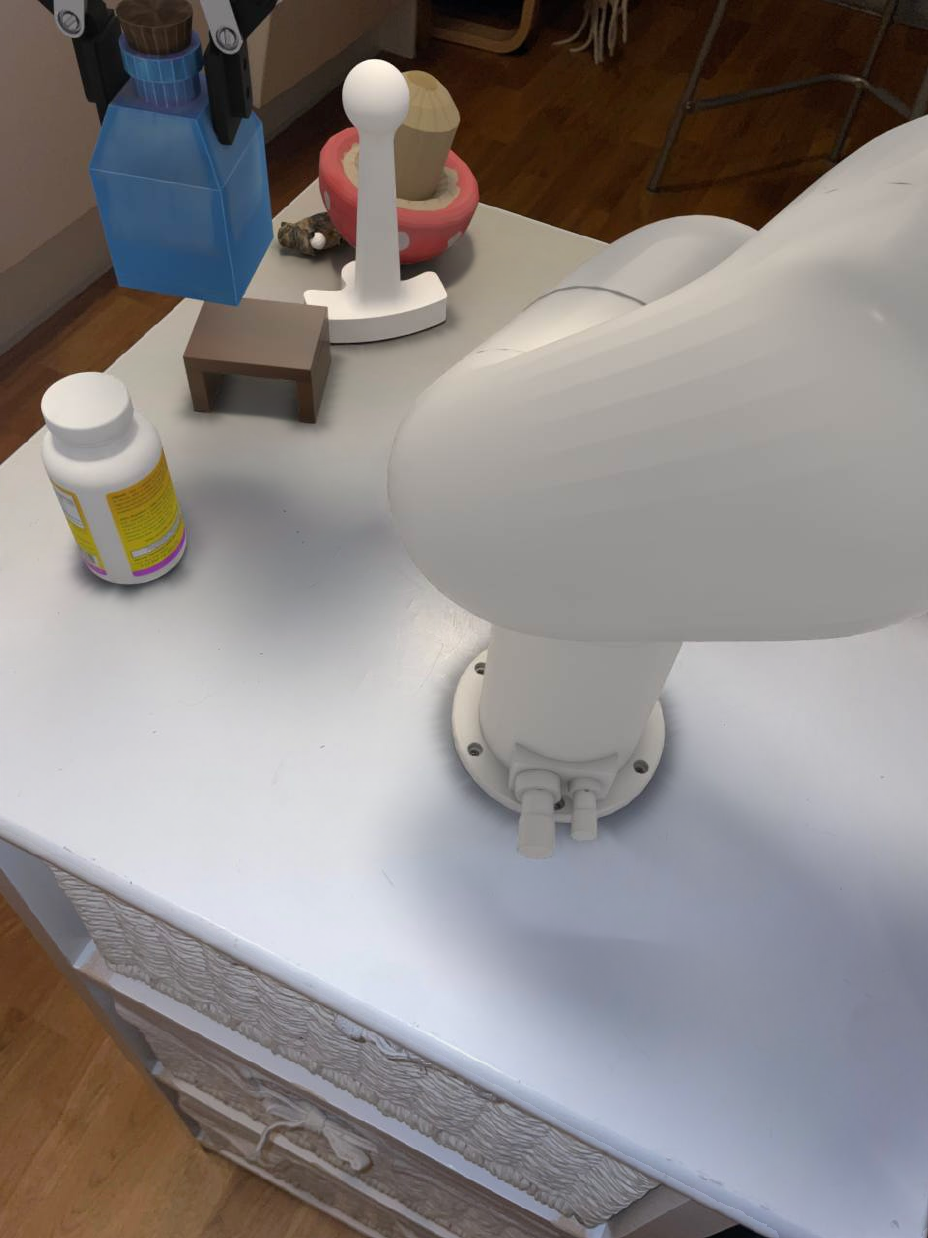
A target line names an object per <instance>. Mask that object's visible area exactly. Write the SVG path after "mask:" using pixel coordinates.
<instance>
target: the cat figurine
mask: <svg viewBox="0 0 928 1238" xmlns="http://www.w3.org/2000/svg"><path fill="white" fill-rule="evenodd" d="M277 241H278V243H279V245H281V246H282V247H283V248H286V249H291V250H296V251H297V252H300V253H303V254H305V255H311V256H315V255H317V254H318V252H319V251H320V250H326V249H327V250H328V249H331V248H333V247H334V246H336V245H339V246H341V245H342V244H344V243H345V238H344V237H343V236H342V235H341V234H340V233H337V232H336V228H335V227H334V225H333V223H332V221H331V219H330V216H329V214H328V212H327V211H322V212H318V213H316V214H313V215H310V216H308V217H304V218H303V219H301V220H299V221H297V222H294V223H292V222H288V221H283V220H282V221H281V223H280V228H278V232H277Z"/></svg>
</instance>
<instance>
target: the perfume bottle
mask: <svg viewBox="0 0 928 1238" xmlns="http://www.w3.org/2000/svg"><path fill="white" fill-rule="evenodd" d="M114 11H115V16H117V17H118V19H119V22H120V25H121V30H122V34H121V36H120V38H119V40H118V41H119V46H120V51H121V55H122V60H123V65H124V69H125V70H126V71H127V72H128V74H129V75H131V78H130V79H129V80H128V82H127V83H126V84H125V85H124V86H123V88H122V89H121V90H120V91H119V93H118V94H117V95H116V96H115V98H114V99H113V100H112V102H111V103H110V104H109V105H108V108H107V111H106V114H105V118H104V121H103V124H102V127H101V126H100V130H99V134H98V136H97V140H96V143H95V145H94V149H93V151H92V154H91V158H90V161H89V165H88V168H87V169H88V173H89V178H90V181H91V184H92V188H93V192H94V197H95V200H96V203H97V208H98V211H99V212H98V213H99V216H100V219H101V222H102V223H101V224H102V227H103V230H104V235H105V238H106V242H107V246H108V250H109V253H110V258H111V262H112V265H113V269H114V273H115V277H116V280H117V285H118V287H123V288H128V289H135V290H139V291H146V292H151V293H157V294H163V295H167V296H174V297H178V298H179V297H180V298H185V299H192V300H197V301H202V302H204V301H207V302H213V303H219V304H224V305H230V306H236V307H238V305H239V303H240V301H241V299H242V298H244V296H245V294H246V292H247V290H248V288H249V286H250V284H251V282H252V280H253V279H254V276H255V274H256V273H257V270H258V268H259V266H260V264H261V263H262V261H263V259H264V257H265V255H266V253H267V251H268V249H269V248H270V245H271V243H272V241H273V239H274V237H275V236H274V227H273V215H272V206H271V197H270V187H269V177H268V166H267V158H266V147H265V137H264V127H263V122H262V120H261V119H260V118H259V117H258V115H257V114H256V113H255V112H254V110H252V112H251V115H250V118H249V119H246V118H242V120H241V122H240V125H239V128H238V130H237V133H236V136H235V138H234V141H233V143H232V145H222V144H221V143H220V142H219V141H218V137H217V135H216V133H215V132H214V130H213V125H212V118H211V112H210V105H209V98H208V91H207V84H206V77H205V72H201V71H202V70H203V69H204V63H203V55H204V52H203V46H202V45H203V44H202V39H201V36H200V34H199V33H198V32H197V31H195V29H193V19H194V9H193V6H192V4H191V3H190V2H189V1H188V0H121V1H119V2H118V3H117V5H116V7H115V9H114Z"/></svg>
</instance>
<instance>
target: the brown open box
mask: <svg viewBox="0 0 928 1238" xmlns="http://www.w3.org/2000/svg"><path fill="white" fill-rule="evenodd" d="M331 353H332V352H331V343H330V336H329V321H328V307H326V306H316V305H307V304H304V303H296V302H286V301H278V300H269V299H260V298H249V297H242V299H241V301H240V303H239V305H238V307H236V306H230V305H224V304H219V303H213V302H207V301H203V303H202V306H201V308H200V311H199V314H198V317H197V319H196V321H195V324H194V327H193V329H192V331H191V334H190V337H189V339H188V341H187V344H186V346H185V350H184V352H183V354H182V359H183V365H184V369H185V374H186V378H187V383H188V388H189V393H190V398H191V401H192V406H193V411H197V412H206V413H211V410H212V408H213V404H214V402H215V399H216V397H217V393H218V391H219V387H220V384H221V381H222V379H223V376H224V375H232V376H242V377H250V378H251V377H252V378H260V379H270V380H279V381H289V382H294V383H295V391H296V392H295V393H296V402H297V412H298V413H297V414H298V420H299V423H308V424H309V423H310V424H316V423H317V418H318V414H319V411H320V405H321V401H322V397H323V393H324V389H325V386H326V381H327V378H328V374H329V369H330V365H331V362H332V355H331Z"/></svg>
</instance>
